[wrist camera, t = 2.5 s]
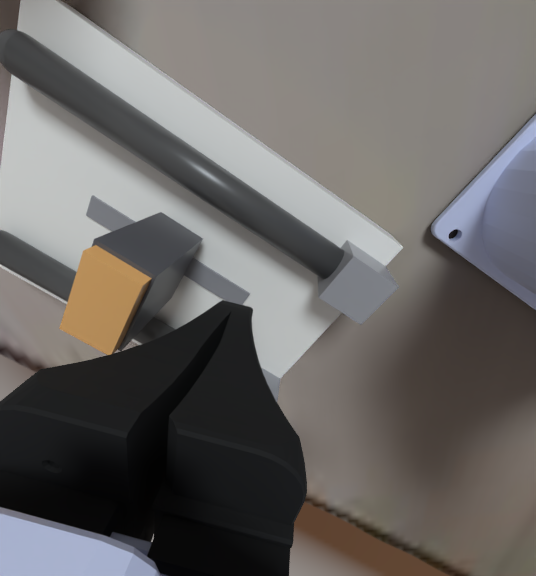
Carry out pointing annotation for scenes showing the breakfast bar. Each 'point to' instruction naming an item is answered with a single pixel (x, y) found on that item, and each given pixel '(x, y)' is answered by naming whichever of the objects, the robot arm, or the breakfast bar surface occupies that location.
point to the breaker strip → (171, 191)
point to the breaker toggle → (127, 281)
